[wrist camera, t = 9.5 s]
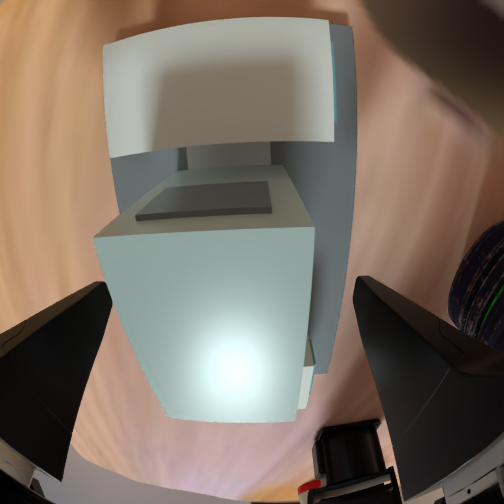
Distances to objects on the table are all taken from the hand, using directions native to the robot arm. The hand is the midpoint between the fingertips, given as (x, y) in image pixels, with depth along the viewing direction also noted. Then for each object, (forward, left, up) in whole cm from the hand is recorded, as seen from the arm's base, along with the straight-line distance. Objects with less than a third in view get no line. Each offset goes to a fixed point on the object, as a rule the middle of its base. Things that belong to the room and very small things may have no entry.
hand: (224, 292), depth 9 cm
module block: (0, 0, -4) cm, 4 cm away
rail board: (0, 0, -5) cm, 5 cm away
